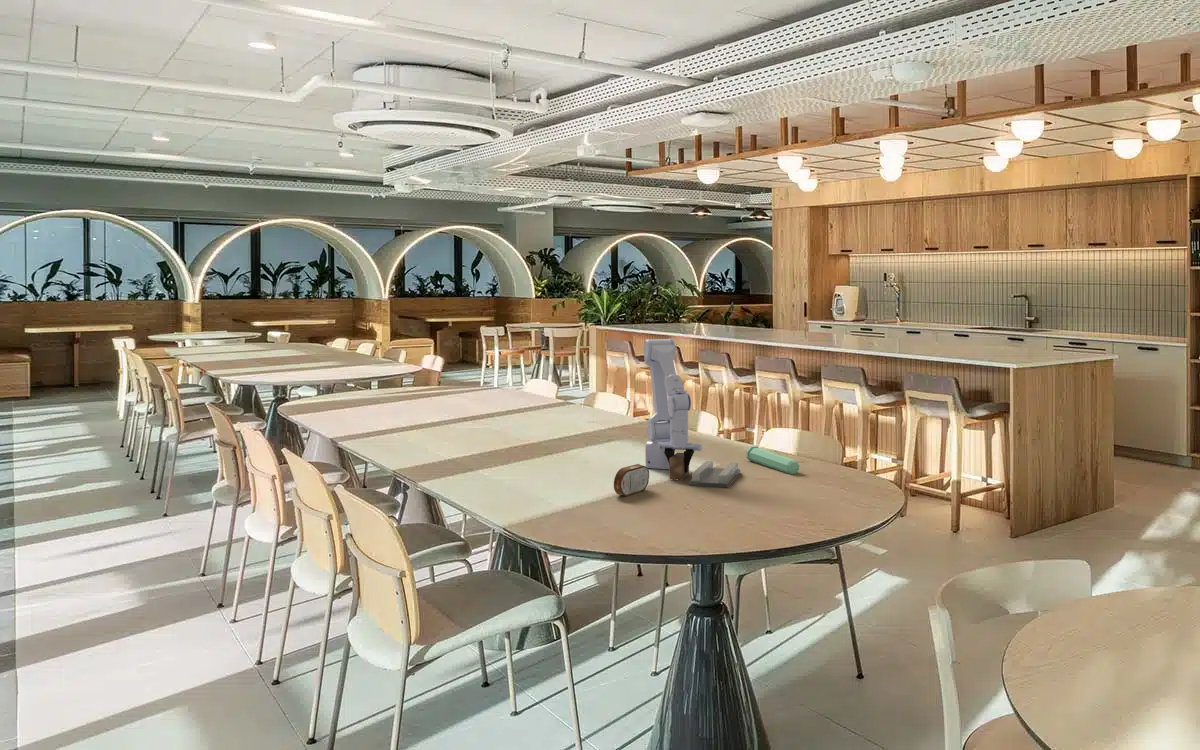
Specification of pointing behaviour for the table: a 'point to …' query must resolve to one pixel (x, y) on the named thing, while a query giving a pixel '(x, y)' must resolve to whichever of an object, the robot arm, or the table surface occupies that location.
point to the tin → (631, 480)
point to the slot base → (714, 475)
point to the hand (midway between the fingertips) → (679, 471)
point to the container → (772, 460)
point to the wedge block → (677, 466)
